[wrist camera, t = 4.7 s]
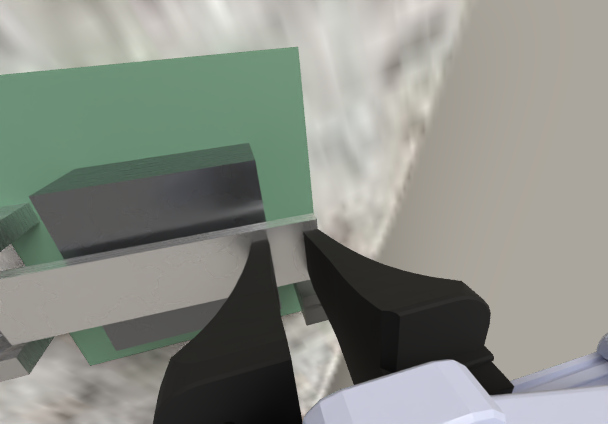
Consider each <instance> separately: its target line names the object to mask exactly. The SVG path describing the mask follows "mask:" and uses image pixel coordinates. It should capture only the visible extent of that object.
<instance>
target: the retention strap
mask: <svg viewBox="0 0 608 424" xmlns="http://www.w3.org/2000/svg"><path fill="white" fill-rule="evenodd" d="M314 229H317V219H316V217H315V215H314V214H313V213H310V214H305V215H300V216H294V217H289V218H284V219H278V220H273V221H268V222H262V223H257V224H251V225H246V226H241V227H235V228H230V229H225V230H219V231H214V232H209V233H203V234H198V235H192V236H187V237H182V238H176V239H171V240H166V241H160V242H155V243H150V244H144V245H139V246H133V247H128V248H123V249H117V250H112V251H107V252H101V253H96V254H91V255H85V256H80V257H74V258H69V259H64V260H58V261H53V262H48V263H42V264H37V265H32V266H26V267H21V268H15V269H10V270H5V271H0V351H3V350H5V349H7V348H9V347H11V346H12V345H17V344H21V343H26V342H31V341H35V340H40V339H44V338H49V337H53V336H58V335H62V334H67V333H71V332H76V331H80V330H85V329H89V328H94V327H98V326H103V325H107V324H112V323H116V322H121V321H125V320H130V319H134V318H139V317H143V316H148V315H152V314H157V313H161V312H166V311H170V310H175V309H179V308H184V307H188V306H193V305H197V304H202V303H207V302H211V301H216V300H220V299H225V298H228V297H229V295H230V294H231V292H232V291H233V289H234V287H235V285H236V284H237V281H238V279H239V277H240V275H241V273H242V271H243V269H244V266H245V264H246V261H247V259H248V256H249V252H250V248H251V244H252V243H253V242H255V241H260V240H265V239H268V241H269V244H270V250H271V255H272V261H273V267H274V272H275V278H276V283H277V287H279V286H283V285H288V284H292V283H297V282H301V281H306V280H310V277H309V274H308V268H307V259H306V251H305V242H304V233H303V232H305V231H310V230H314Z"/></svg>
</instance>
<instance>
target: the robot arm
mask: <svg viewBox="0 0 608 424" xmlns="http://www.w3.org/2000/svg"><path fill="white" fill-rule="evenodd" d="M303 233H304V242H305V251H306V259H307V268H308V274H309V277H310V280H311V283H312V286H313V289H314V291H315V293H316V295H317V297H318V299H319V301H320V303H321V305H322V307H323V309H324V311H325V313H326V315H327V317H328V319H329V322H330V324H331V326H332V328H333V330H334V332H335V334H336V337H337V339H338V342H339V345H340V347H341V350H342V353H343V356H344V358H345V361H346V364H347V367H348V370H349V372H350V375H351V378H352V381H353V384H354V385H353V386H350V387H347V388H344V389H340V390H338V391H336V392H334V393H332V394H330V395H328V396H326V397H324V398H322V399H320V400H319V401H318V402H317V403H316V404H315V405H314V406H313V407H312V408H311V409H310V410H309V411H308V412H307V414H306V415H305V417H304V420H303V424H608V333H607V334H605V335H604V336H603V338H602V339H601V340H600V342H599V344H598V347H597V352H594V353H591V354H588V355H585V356H582V357H579V358H577V359H573V360H571V361H568V362H565V363H562V364H559V365H556V366H553V367H550V368H547V369H544V370H541V371H538V372H535V373H533V374H529V375H527V376H523V377H521V378H518V379H515V380H512V381H509V380H508V379H507V378H506V377H505V376H504V374H503V373H502V372H501V371H500V370H499V369H498V368H497V367H496V366H495V365H494V364H493V363H492V362H491V361H493V360H494V356H493V354H492V353H491V352H490V351H489V350H488V349H487V348H486V347H485V346H484V344H485V339H486V336H487V332H488V328H489V324H490V314H491V313H490V309H489V306H488V304H487V303H486V302H485V301H484V300H483V299H482V298H481V297H479V295H477V294H476V293H475V292H474V291H472V290H471V289H470V288H469V287H468V286H467V285H466V284H465V283H463V282H462V281H456V280H450V279H443V278H435V277H429V276H424V275H420V274H415V273H411V272H407V271H403V270H400V269H397V268H393V267H390V266H387V265H384V264H381V263H379V262H376V261H374V260H371V259H369V258H367V257H364V256H362V255H360V254H358V253H356V252H354V251H352V250H350V249H349V248H347V247H345V246H343V245H342V244H340V243H338V242H337V241H335V240H334V239H332V238H330V237H329V236H327V235H326V234H324V233H323V232H321V231H320V230H318V229H314V230H310V231H305V232H303ZM153 424H302V417H301V412H300V406H299V400H298V395H297V389H296V383H295V378H294V372H293V366H292V360H291V355H290V351H289V347H288V342H287V338H286V334H285V330H284V327H283V323H282V319H281V311H280V302H279V294H278V289H277V283H276V278H275V272H274V267H273V261H272V255H271V250H270V244H269V241H268V239H265V240H260V241H255V242H253V243H252V244H251V248H250V252H249V256H248V259H247V261H246V264H245V266H244V269H243V271H242V273H241V275H240V277H239V279H238V281H237V284H236V285H235V287H234V289H233V291H232V292H231V294H230V295H229V297H228V299H227V300H226V301H225V303H224V304H223V306H222V307H221V308H220V310H219V311H218V312H217V314H216V315H215V316H214V317H213V319H212V320H211V321H210V322H209V323H208V324H207V325H206V326H205V327H204V328H203V329H202V330H201V331H200V332H199V333H198V334H197V335H196V336H195V337H194V338H193V339H192V340H191V341H190V342H189V343H188V344H187V345H185V346H184V347H183V348H182V349H181V350H180V351H179V352H177V353H176V354H175V355H174V356H173V357H171V359H170V361H169V364H168V367H167V370H166V372H165V375H164V378H163V381H162V384H161V387H160V391H159V395H158V400H157V405H156V409H155V414H154V421H153Z"/></svg>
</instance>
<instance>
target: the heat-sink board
mask: <svg viewBox="0 0 608 424" xmlns="http://www.w3.org/2000/svg"><path fill="white" fill-rule="evenodd" d="M310 213H313V202H312V191H311V180H310V170H309V159H308V148H307V137H306V127H305V116H304V105H303V94H302V84H301V73H300V62H299V52H298V47H290V48H280V49H269V50H259V51H248V52H238V53H227V54H217V55H206V56H195V57H185V58H174V59H164V60H153V61H143V62H132V63H122V64H111V65H101V66H90V67H80V68H69V69H58V70H48V71H37V72H27V73H16V74H6V75H0V252H1V251H2V250H3V249H4V248H6V247H7V246H8V245H10V244H12V245H13V247H14V249H15V250H16V252H17V253H18V255H19V256H20V258H21V259H22V261H23V262H24V264H25V266H32V265H37V264H42V263H48V262H53V261H58V260H64V259H69V258H74V257H80V256H85V255H91V254H96V253H101V252H107V251H112V250H117V249H123V248H128V247H133V246H139V245H144V244H150V243H155V242H160V241H166V240H171V239H176V238H182V237H187V236H192V235H198V234H203V233H209V232H214V231H219V230H225V229H230V228H235V227H241V226H246V225H251V224H257V223H262V222H268V221H273V220H278V219H284V218H289V217H294V216H300V215H305V214H310ZM313 214H314V213H313ZM277 289H278V294H279V302H280V311H281V316H284V315H288V314H291V313H295V312H299V311H302V313H303V316H304V319H305V322H306V325H311V324H315V323H318V322H322V321H326V320H329V319H328V317H327V315H326V313H325V311H324V309H323V307H322V305H321V303H320V301H319V299H318V297H317V295H316V293H315V291H314V289H313V286H312V283H311V280H306V281H301V282H297V283H292V284H288V285H283V286H279V287H277ZM227 299H228V298H225V299H220V300H216V301H211V302H207V303H202V304H197V305H193V306H188V307H184V308H179V309H175V310H170V311H166V312H161V313H157V314H152V315H148V316H143V317H139V318H134V319H130V320H125V321H121V322H116V323H112V324H107V325H103V326H98V327H94V328H89V329H85V330H80V331H76V332H71V333H70V335H71V337H72V338H73V340H74V341H75V343H76V344H77V346H78V347H79V349H80V350H81V352H82V354H83V355H84V357H85V358H86V360H87V361H88V363H89V364H90V366H91V365H95V364H99V363H102V362H106V361H110V360H114V359H118V358H122V357H126V356H129V355H133V354H137V353H141V352H145V351H149V350H153V349H156V348H160V347H164V346H168V345H172V344H176V343H180V342H183V341H187V340H191V339H193V338H194V337H195V336H196V335H197V334H198V333H199V332H200V331H201V330H202V329H203V328H204V327H205V326H206V325H207V324H208V323H209V322H210V321H211V320H212V319H213V317H214V316H215V315H216V314H217V312H218V311H219V310H220V308H221V307H222V306H223V304H224V303H225V301H226V300H227ZM53 338H54V336H53V337H49V338H44V339H40V340H35V341H31V342H26V343H21V344H17V345H12V346H11V347H9V348H7V349H5V350H3V351H0V382H1V381H5V380H9V379H13V378H17V377H21V376H25V375H29V374H30V373H31V371H32V370H33V368H34V367H35V365H36V363H37V362H38V360H39V359H40V357H41V356H42V354H43V353H44V351H45V350H46V348H47V347H48V345H49V344H50V342H51V341H52V339H53Z"/></svg>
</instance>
